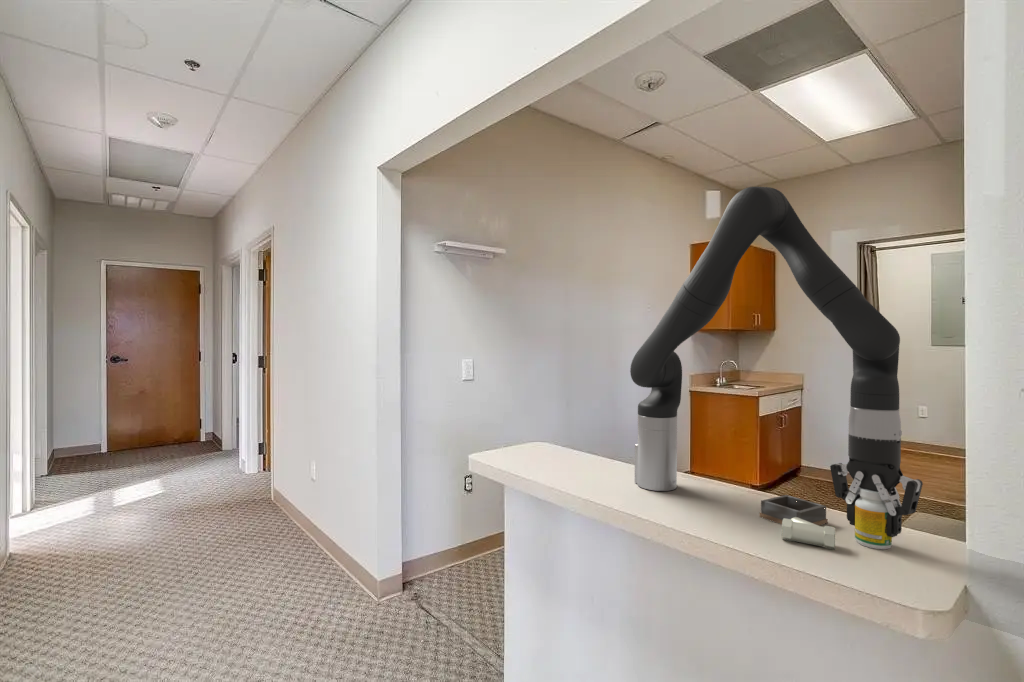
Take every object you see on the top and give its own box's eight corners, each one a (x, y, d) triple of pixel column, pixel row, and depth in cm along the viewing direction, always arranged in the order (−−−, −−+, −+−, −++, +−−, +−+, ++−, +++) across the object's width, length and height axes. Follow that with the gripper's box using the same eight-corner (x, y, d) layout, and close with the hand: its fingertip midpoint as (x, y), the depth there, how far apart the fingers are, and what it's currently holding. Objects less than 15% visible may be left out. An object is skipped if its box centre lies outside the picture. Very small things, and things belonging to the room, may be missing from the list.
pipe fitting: (785, 533, 97) (781, 542, 91) (785, 512, 97) (781, 520, 91) (835, 543, 92) (834, 553, 87) (835, 520, 92) (835, 529, 87)
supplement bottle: (857, 535, 94) (857, 483, 94) (893, 543, 90) (893, 488, 90) (852, 544, 90) (852, 489, 90) (890, 552, 86) (890, 495, 86)
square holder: (759, 516, 104) (759, 500, 104) (785, 510, 108) (785, 494, 108) (800, 530, 96) (801, 513, 96) (827, 523, 100) (827, 506, 100)
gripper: (820, 429, 95) (819, 520, 95) (910, 443, 82) (909, 549, 82) (843, 425, 98) (842, 514, 98) (933, 439, 86) (932, 540, 86)
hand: (873, 529), depth 90 cm, fingers closed on supplement bottle, 5 cm apart
